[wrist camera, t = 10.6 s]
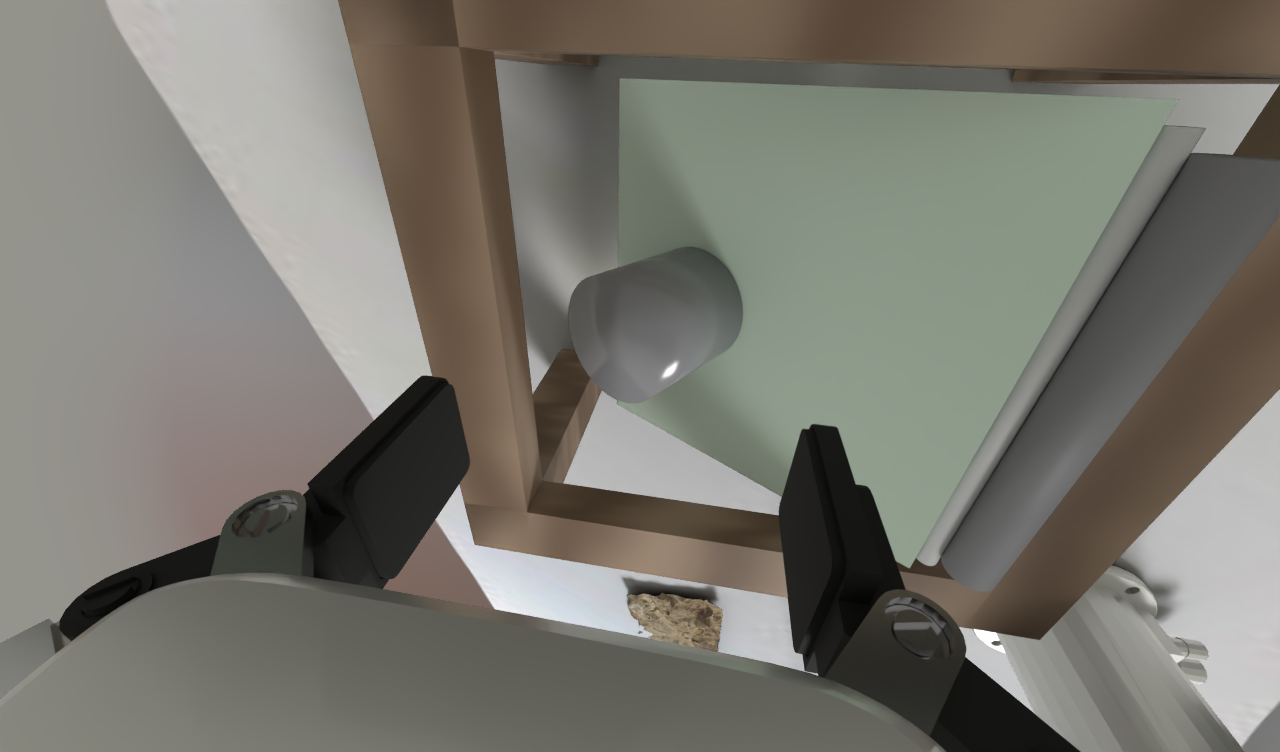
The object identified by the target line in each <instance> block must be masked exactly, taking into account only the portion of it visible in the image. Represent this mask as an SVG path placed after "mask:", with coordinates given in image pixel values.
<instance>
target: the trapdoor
mask: <svg viewBox="0 0 1280 752" xmlns="http://www.w3.org/2000/svg"><path fill="white" fill-rule="evenodd" d="M1178 100H1179V99H1155V98H1129V97H1103V96H1076V95H1050V94H1024V93H997V92H971V91H944V90H918V89H892V88H865V87H839V86H813V85H786V84H760V83H734V82H707V81H681V80H654V79H628V78H620V80H619V202H618V267H621V266H624V265H628V264H631V263H634V262H637V261H640V260H643V259H646V258H649V257H652V256H655V255H658V254H661V253H664V252H668V251H671V250H674V249H677V248H680V247H696V248H700V249H703V250H705V251H707V252H709V253H711V254H713V255H714V256H715V257H717V258H718V259H719V260H720V261H721V262H722V263H723V264H724V265H725V266H726V267H727V268H728V270H729V271H730V273H731V274H732V276H733V277H734V279H735V281H736V283H737V286H738V288H739V291H740V295H741V298H742V305H743V320H742V326H741V330H740V332H739V335H738V337H737V339H736V341H735V342H734V343H733V345H732V346H731V347H730V348H729V349H728V350H727V351H725V352H724V353H722V354H721V355H719V356H717V357H716V358H714V359H712V360H711V361H709V362H708V363H706V364H704V365H703V366H701V367H700V368H698V369H696V370H695V371H693V372H691V373H690V374H688V375H687V376H685V377H683V378H682V379H680V380H679V381H677V382H675V383H674V384H672V385H670V386H669V387H667V388H666V389H664V390H662V391H661V392H659V393H658V394H656V395H654V396H653V397H651V398H649V399H648V400H646V401H644V402H641V403H636V404H630V403H624V402H621V401H618V400H617V404H618V405H619V406H621V407H623V408H625V409H627V410H628V411H630V412H632V413H634V414H635V415H637V416H639V417H641V418H643V419H644V420H646V421H648V422H650V423H651V424H653V425H655V426H657V427H659V428H660V429H662V430H664V431H666V432H667V433H669V434H671V435H673V436H675V437H676V438H678V439H680V440H682V441H683V442H685V443H687V444H689V445H691V446H692V447H694V448H696V449H698V450H699V451H701V452H703V453H705V454H707V455H708V456H710V457H712V458H714V459H716V460H717V461H719V462H721V463H723V464H724V465H726V466H728V467H730V468H732V469H733V470H735V471H737V472H739V473H740V474H742V475H744V476H746V477H748V478H749V479H751V480H753V481H755V482H756V483H758V484H760V485H762V486H764V487H765V488H767V489H769V490H771V491H772V492H774V493H776V494H778V495H780V496H781V497H782V495H783V492H784V488H785V485H786V481H787V478H788V474H789V471H790V467H791V464H792V460H793V457H794V454H795V450H796V447H797V443H798V440H799V436H800V433H801V430H802V429H809V428H810V426H811V424H819V425H827V426H835V427H837V428H838V430H839V433H840V436H841V439H842V442H843V446H844V449H845V452H846V455H847V458H848V461H849V465H850V468H851V471H852V474H853V477H854V480H855V484H857V485H864V486H867V487H868V488H870V490H871V492H872V494H873V497H874V500H875V503H876V506H877V509H878V511H879V514H880V517H881V520H882V523H883V526H884V529H885V532H886V534H887V537H888V540H889V543H890V546H891V549H892V552H893V554H894V557H895V560H896V561H897V562H899V563H900V564H902V565H904V566H906V567H908V568H909V569H910V567H911V565H912V564H913V562H914V560H915V558H917V559H918V560H919V561H920V562H921V563H923V564H925V565H927V566H934V565H936V564H937V562H938V560H939V559H940V557H941V561H942V564H943V566H944V568H945V570H946V571H947V572H948V574H949V575H950V576H951V577H952V578H953V579H955V580H956V581H957V582H959V583H960V584H962V585H963V586H965V587H967V588H970V589H973V590H976V591H981V592H986V591H991V590H993V589H994V588H995V587H996V585H997V584H998V583H999V582H1000V580H1001V579H1002V578H1003V576H1004V575H1005V574H1006V572H1007V571H1008V570H1009V568H1010V567H1011V566H1012V565H1013V563H1014V562H1015V561H1016V559H1017V558H1018V557H1019V555H1020V554H1021V553H1022V551H1023V550H1024V549H1025V548H1026V546H1027V545H1028V544H1029V542H1030V541H1031V540H1032V538H1033V537H1034V536H1035V534H1036V533H1037V532H1038V531H1039V529H1040V528H1041V527H1042V525H1043V524H1044V523H1045V521H1046V520H1047V519H1048V517H1049V516H1050V515H1051V514H1052V512H1053V511H1054V510H1055V508H1056V507H1057V506H1058V504H1059V503H1060V502H1061V501H1062V499H1063V498H1064V497H1065V495H1066V494H1067V493H1068V491H1069V490H1070V489H1071V487H1072V486H1073V485H1074V484H1075V482H1076V481H1077V480H1078V478H1079V477H1080V476H1081V474H1082V473H1083V472H1084V470H1085V469H1086V468H1087V467H1088V465H1089V464H1090V463H1091V461H1092V460H1093V459H1094V457H1095V456H1096V455H1097V453H1098V452H1099V451H1100V450H1101V448H1102V447H1103V446H1104V444H1105V443H1106V442H1107V440H1108V439H1109V438H1110V436H1111V435H1112V434H1113V433H1114V431H1115V430H1116V429H1117V427H1118V426H1119V425H1120V423H1121V422H1122V421H1123V419H1124V418H1125V417H1126V416H1127V414H1128V413H1129V412H1130V410H1131V409H1132V408H1133V406H1134V405H1135V404H1136V402H1137V401H1138V400H1139V399H1140V397H1141V396H1142V395H1143V393H1144V392H1145V391H1146V389H1147V388H1148V387H1149V385H1150V384H1151V383H1152V382H1153V380H1154V379H1155V378H1156V376H1157V375H1158V374H1159V372H1160V371H1161V370H1162V368H1163V367H1164V366H1165V365H1166V363H1167V362H1168V361H1169V359H1170V358H1171V357H1172V355H1173V354H1174V353H1175V351H1176V350H1177V349H1178V348H1179V346H1180V345H1181V344H1182V342H1183V341H1184V340H1185V338H1186V337H1187V336H1188V334H1189V333H1190V332H1191V331H1192V329H1193V328H1194V327H1195V325H1196V324H1197V323H1198V321H1199V320H1200V319H1201V317H1202V316H1203V315H1204V314H1205V312H1206V311H1207V310H1208V308H1209V307H1210V306H1211V304H1212V303H1213V302H1214V300H1215V299H1216V298H1217V297H1218V295H1219V294H1220V293H1221V291H1222V290H1223V289H1224V287H1225V286H1226V285H1227V283H1228V282H1229V281H1230V280H1231V278H1232V277H1233V276H1234V274H1235V273H1236V272H1237V270H1238V269H1239V268H1240V267H1241V265H1242V264H1243V263H1244V261H1245V260H1246V259H1247V257H1248V256H1249V255H1250V253H1251V252H1252V251H1253V250H1254V248H1255V247H1256V246H1257V244H1258V243H1259V242H1260V240H1261V239H1262V238H1263V236H1264V235H1265V234H1266V233H1267V231H1268V230H1269V229H1270V227H1271V226H1272V225H1273V223H1274V222H1275V221H1276V219H1277V218H1278V217H1279V216H1280V159H1272V158H1262V157H1251V156H1239V155H1225V154H1208V153H1191V152H1192V150H1193V149H1194V147H1195V145H1196V144H1197V142H1198V141H1199V139H1200V137H1201V136H1202V134H1203V132H1204V131H1205V129H1206V128H1198V127H1185V126H1167V125H1164V124H1165V122H1166V120H1167V119H1168V117H1169V115H1170V113H1171V112H1172V110H1173V108H1174V106H1175V105H1176V103H1177V101H1178Z"/></svg>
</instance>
